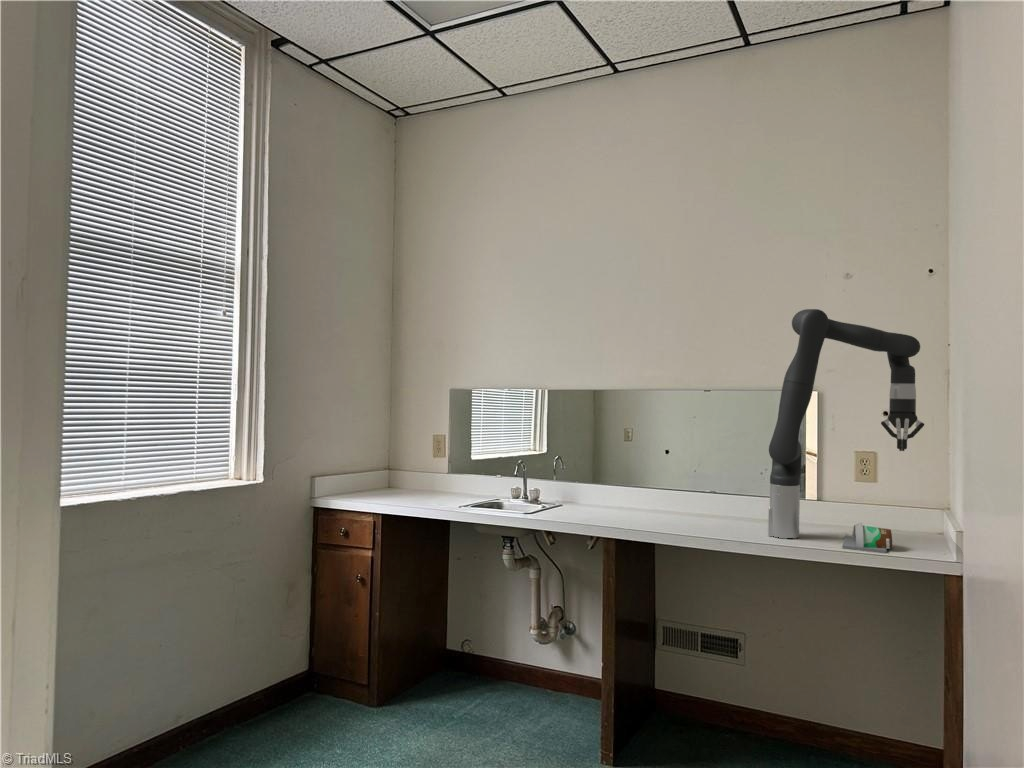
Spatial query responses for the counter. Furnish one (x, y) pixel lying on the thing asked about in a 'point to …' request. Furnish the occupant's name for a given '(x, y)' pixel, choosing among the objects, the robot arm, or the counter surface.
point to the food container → (872, 537)
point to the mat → (851, 544)
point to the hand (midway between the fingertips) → (902, 450)
